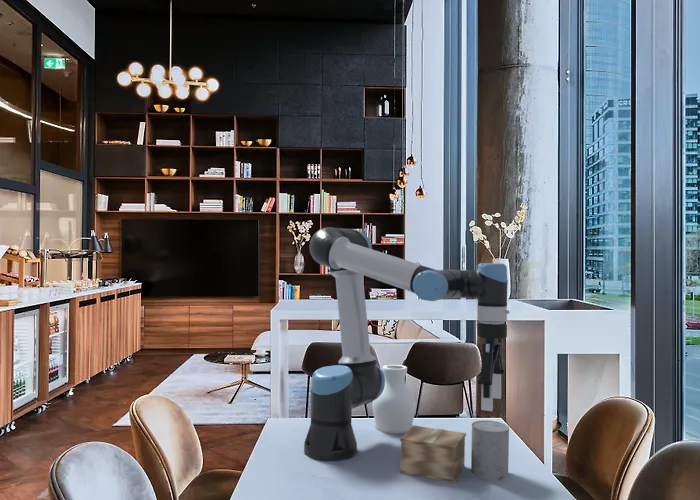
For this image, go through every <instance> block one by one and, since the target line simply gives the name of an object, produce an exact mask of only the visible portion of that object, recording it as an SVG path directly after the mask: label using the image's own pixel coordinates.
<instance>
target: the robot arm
mask: <svg viewBox="0 0 700 500" xmlns="http://www.w3.org/2000/svg"><path fill="white" fill-rule="evenodd" d="M372 246H373V245H372V242H371V240H370V238H369V237H368V235H366V234H365V233H364V232H363V231H360V230H357V229H354V228H341V227H331V226H330V227H329V226H328V227H324V228H320V229H319V230H317V231H316V232H315V233H313V235H312V237H311V239H310V241H309V253H310V256H311V257H312V258H313V260H314V261H315V262H316V263H317V264H319V265H321V266H324V267H329V273H330V275H331V276H332V277H334V279H335V287H336V288H335V289H336V299H337V309H338V320H339V321H338V322H339V331H340V339H341V340H340V343H341V352H342V356H341V357H340V359H339V360H338V361H337V362H338V364H337V365H335V364H334V365H330V366H329V365H328V366H327V365H326V366H322V367H319V368H318V369H316V370H315V371H314V372H313V373H312V376H311V383H310V389H311V390H310V392H311V393H310V395H311V396H310V425H309V427H308V430H307V434H306V437H305V439H304V443H303V452H304V454H305V455H306V456H307V457H308V458H309V457H310V458H312V459H315V460H321V461H340V460H345V459H350V458H352V457H354V456H355V455H356V454H357V452H358V443H357V439H356V435H355V433H354V429H353V425H352V415H353V414H352V411H353V410H352V409H355V408H358V407H361V406H363V405H368V404H371V403H373V401H374V400H376V399H377V398H378V397H379V396H380V395H381V394H382V392H383V390H384V386H385V377H384V374H383V370H382V369H381V368H380V366H379V365H378V364H377V357H375V356H374V355H373V354H372V353H371V348H370V337H369V336H370V335H369V326H368V324H369V323H368V317H367V316H368V314H367V304H366V295H365V294H366V293H365V285H364V277H367V278H370V279H374V280H376V281H378V282H381V283H384V284H387V285H390V286H393V287H396V288H400V289H402V290H404V291H408V292H410V293H413V294H415V295H416V297H418V299H420V300H423V301H428V302H436V301H440V300H447V299H448V300H449V299H477V304H476V305H477V306H476V307H477V310H476V311H477V312H476V313H477V315H476V316H477V317H476V319H477V321H478V323H477V325H476V326H477V327H476V328H477V329H476V330H477V333H476V334H477V337H479V338H480V339H485V343H482V356H481V365H480V376H479V379H478V380H477V382H478V383H477V384H478V385H481V386H480V387H481V389H480V390H481V392H480V393H481V394H480V395H481V399H480V402H481V403H480V405H481V406H480V407H481V409H480V410H481V411H486V412H487V411H488V412H493V411H494V410H493V409H494V408H493V407H494V405H493V404H494V399H499V400H501V399H502V374H505V369H503V368H504V367H503V361H502V358H503V357H502V343H501V342H502V339H506V338H507V337H508V324H507V323H505V322H507V320H508V314H510V310H509V309H508V282H509V280H508V268H507V265H506V264H504V263H500V262H499V263H494V262H493V263H489V262H488V263H486V262H485V263H483V262H482V263H479V264H477V269H475V270H464V269H451V268H449V269H446V268H445V269H441V270H440V269H435V268H432V267H428V266H424V265H422V264H419V263H416V262H413V261H410V260H406V259H403V258H400V257H397V256H394V255H391V254H387V253H386V252H385V253H384V252H381V251H378V250H375V249H373V247H372Z"/></svg>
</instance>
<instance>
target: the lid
mask: <svg viewBox="0 0 700 500" xmlns="http://www.w3.org/2000/svg"><path fill="white" fill-rule="evenodd" d="M466 437H467V433H466V432H460V431H456V430H455V431H453V430H446V429H442V428H434V427H427V426H426V427H425V426H420V425H419V426H418V425H412V428H411V429H410V430H409V431H408V432H407V433H404V435H403V436H401V437H400V439H399V441H400V443H401V442H405V443H412V444H418V445H424V446H430V447H437V448H443V449H449V450H456V449H457V448H458V446H459V445H460V443H461V442H462V441H463V439H464V438H465V439H466Z"/></svg>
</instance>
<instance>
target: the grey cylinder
mask: <svg viewBox="0 0 700 500" xmlns="http://www.w3.org/2000/svg"><path fill="white" fill-rule="evenodd" d="M509 441H510V426H508V424H505V423H503V422H498V421H494V420H477V421H474V422H472V423H471V454H470V455H471V463H470V464H471V465H470V466H471V469H470V473H471V475H472V476H474V477H476V478H477V479H480V480H485V481H490V482H492V481H493V482H500V481H504V480H506V479H508V478H509V456H510V455H509V454H510V451H509V449H510V448H509V447H510V446H509V445H510V442H509Z"/></svg>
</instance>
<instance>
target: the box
mask: <svg viewBox="0 0 700 500" xmlns="http://www.w3.org/2000/svg"><path fill="white" fill-rule="evenodd" d="M465 440H466V437H465V438H464V439H463V441H462V442H461V443H460V445H459V446H458V448H457V449H456V450H449V449H443V448H437V447H430V446H424V445H418V444H412V443H405V442H400V473H401V474H406V475H411V476H417V477H423V478H428V479H434V480H439V481H445V482H449V481H450V482H449V483H455V482H456V480H457V479H458V478H459V475H460V474H461V473H462V471H463V469H464V467H465V460H466V459H465V455H466V454H465V453H466V451H465V449H466V448H465V445H466V442H465Z"/></svg>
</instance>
